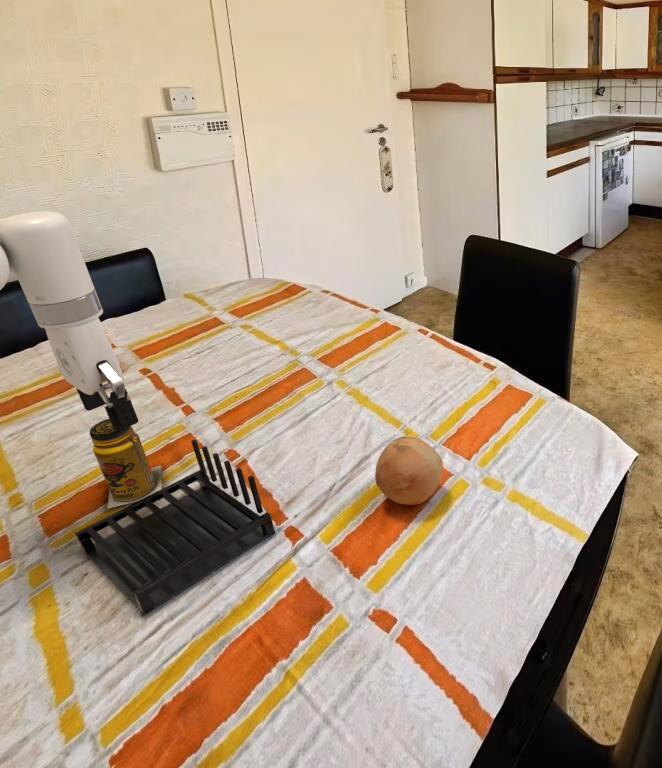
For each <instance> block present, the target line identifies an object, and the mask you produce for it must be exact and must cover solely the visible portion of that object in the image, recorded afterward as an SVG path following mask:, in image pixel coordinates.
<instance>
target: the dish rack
mask: <svg viewBox="0 0 662 768" xmlns="http://www.w3.org/2000/svg"><path fill="white" fill-rule="evenodd" d="M190 443H191V445H192V448H193V451H194V455H195V457H196V458H195V459H196V461H197V464H198V468H199V470H197V471H194V472H193V473H191V474H189V475H187V476H185V477H183V478H181V479H179V480H177V481H175V482H173V483H171V484H169V485H167V486H165V487H162V489H161V490H159V491H157V492H155V493H153V494H151V495H149V496H147V497H145V498H143V499H141V500H139V501H136V502H133V503H130V505H129V504H128V505H127V506H125V507H124V508H122V509H119V510H117V511H115V512H113V513H112V514H110V515H108V516H105V517H104V518H102V519H100V520H98V521H95V522H94V523H92V524H90V525H88V526H86V527H84V528H82V529H80V530H78V531H76V532H75V533H74V535H75V537H76V539H77V541H78V543H79V545H80V548H81V550H82V552H83V553H84V554H85V555H86V556H87V558H89V559H90V560H91V561H92V563H94V564H95V565H96V566H97V568H99V569H100V570H101V572H102V573H104V575H105V576H106V577H107V578H108V579H109V580H110V581H111V582H112V583H113V584H114V585H116V586H115V587H117V588H118V589H119V590H120V591H121V592H122V593H123V594H124V596H126V597H127V598H128V599H129V600H130V602H132V603H133V604H134V605H135V607H137V609H138V610H139V611H141V613H142V614H143V615H144V616H146V615H148V614H149V613H151V612H152V611H154V610H156V609H157V608H158V607H160V606H162V605H163V604H165V603H166V602H169V601H170V600H171V599H173V598H174V597H176V596H177V595H179V594H181V593H182V592H184V591H185V590H186V589H187V590H188V588H191V586H192V587H193V585H195V584H197V583H198V582H200V581H201V580H203V579H204V578H206V577H207V576H209V575H211V574H213V573H214V572H216V571H217V570H218V569H220V568H221V567H224V566H225V565H226V564H228V563H230V562H231V561H233V560H234V559H236V558H238V557H239V556H240V555H242V554H244V553H246V552H247V551H248V550H250V549H252V548H254V547H255V546H257V545H258V544H260V543H261V542H263V541H265V540H267V539H268V538H269V537H271V536H272V535H274V534H276V531H275V526H274V522H273V520H272V516H271V513H269V511H266V512H264V508H263V505H262V501H261V498H260V494H259V491H258V487H257V483H256V478H255V476H253V475H249V476H248V477H247V480H248V484H249V488H250V491H251V495H252V498H253V502H254V506H255V509H256V512H257V513H256V512H255V511H254V510H252V509H251V508H249V507H248V506H249V505H251V504H252V501H251V498H250V495H249V491H248V486H247V484H246V480H245V477H244V473H243V469H242V468H241V467H237V468H235V473H236V476H237V480H238V484H239V486H240V491H241V493H242V497H243V500H244V501H243V502H244V503H242V502H240V501H239V500H238V499H237V497H239V496H240V493H239V489H238V486H237V481H236V478H235V475H234V472H233V469H232V464H231V462H230V460H229V459H227V460H224V461H223V464H224V467H225V468H224V469H225V471H226V473H227V477H228V481H229V485H230V488H231V491H232V494H233V496H232V495H230V494H229V493H227V492H226V491H225V490H227V489H228V488H229V485H228V482H227V479H226V475H225V473H224V469H223V466H222V462H221V458H220V456H219V454H218V453H217V452H214V453H213V454H212V457H211V455H210V451H209V449H208V446H207V445H204V446H201V449H200V447H199V444H198V441H197V439H192V440H190ZM201 451H202V453H201ZM202 454H203V456H202ZM203 457H204V459H203ZM212 458H213V462H214V464H215V467H216V471H215V468H214V465H213V462H212ZM204 461H205V463H206V465H205V463H204ZM206 466H207V468H206ZM207 470H208V472H207ZM216 472H217V474H216ZM207 473H209V475H208V474H207ZM217 475H218V477H219V481H220V485H221V487H222V488H220V487H219V486H217V485H216V484H214V483H215V482H217V481H218V477H217ZM210 479H211V480H210ZM211 481H212V482H211ZM195 482H196V483H198V484H199V488H197V489H193V488H192V487H191V486H189V485H191V484H193V483H195ZM179 490H180V491H182V492H183V493H184V494H185V495H184V496H182V497H180V498H179V499H178V498H177V497H175V496H174V495H173V494H174V493H175V492H177V491H179ZM234 497H235V498H234ZM161 499H164V500H165V501H167V502H168V504H166V505H165V506H163V507H159V506H158V505H157V504H155V503H156V502H158V501H160V500H161ZM145 508H146V509H148V510H149V511H150V512H151V513H150V514H148V515H146V516H144V517H142V516H141V515H139V513H137V512H139V511H141V510H143V509H145ZM263 512H264V513H263ZM260 514H261V515H260ZM125 518H129V519H130V520H131V521H132V522H133V523H131V524H129V525H127V526H125V527H123V526H122V525H120V523H118V522H119V521H121V520H123V519H125ZM107 527H109V528H110V529H111V530H112V531H114V532H113V533H112V534H110V535H108V536H106V537H103V536H102V535H100V533H98V532H100V531H102V530H104V529H105V528H107Z"/></svg>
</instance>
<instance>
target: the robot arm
mask: <svg viewBox="0 0 662 768" xmlns="http://www.w3.org/2000/svg"><path fill="white" fill-rule="evenodd" d="M10 273H13V274H15V276H16V278H17V280H18V282H19V284H20V286H21V289H22V292H23V293H24V296H25V298H26V300H27V302H28V305H29V307H30V309H31V312H32V314H33V317H34V318H35V320H36V323H37V325H38V327H40V329H44V330H45V333H46V337H47V340H48V342H49V345H50V347H51V350H52V353H53V356H54V358H55V361H56V363H57V366H58V369H59V371H60V374H61V376H62V377H63V379H64V380H65V381H66V382H67V383H69V384H70V385H71V386H73V387H74V388H75V389H76V391H77V394H78V396H79V399H80V400H81V403H82V405H83V408H84V410H85V411H88V412H89V411H93V410H96V409H98V408H100V407H102V406H104V410H105V412H106V414H107V416H108V419H110V422H111V424H112V426H113V429H114V430H115V431H120V430H123V429H125V428H127V427H129V426H131V427H133V426H134V425H136V424H138V423H139V417H138V416H137V413H136V411H135V407H134V406H133V403H132V400H131V397H130V394H129V391H127V388H126V386H125V382H124V379H125V378H124V374H123V371H122V368H121V365H120V362H119V360H118V357H117V356H116V352H115V351H114V348H113V346H112V344H111V341H110V339H109V337H108V335H107V332H106V330H105V328H104V326H103V324H102V322H101V320H100V318H99V317H101V316H102V315H103V313H104V309H103V307H102V304H101V301H100V299H99V296H98V294H97V291H96V289H95V286H94V283H93V281H92V277H91V275H90V273H89V269H88V268H87V265H86V262H85V260H84V257H83V254H82V252H81V249H80V246H79V244H78V241H77V239H76V235H75V234H74V230H73V228H72V226H71V223H70V221H69V220H68V219H67V217H66V216H65V215H63V214H62V213H60V212H57V211H52V210H51V211H50V210H41V211H39V210H38V211H31V212H24V213H19V214H15V215H11V216H8V217H4V218H0V291H1V290H2V289H3V288H4V287H5V286H6V284H7V283H8V280H9V277H10ZM106 382H107V383H106ZM103 383H104V384H103ZM109 390H111V391H110V392H109V395H108V393H107V392H106V391H109ZM105 405H106V406H105Z"/></svg>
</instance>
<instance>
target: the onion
mask: <svg viewBox="0 0 662 768" xmlns="http://www.w3.org/2000/svg"><path fill="white" fill-rule="evenodd" d="M443 470H444V464H443V460H442V456H441V455H440V454H439V452H437V451H436V449H434V448H433V447H432V445H430V444H429V443H428V442H427V441H424V440H422V439H420V438H418V437H413V436H400V437H397V438H395V439H392V441H390V442H389V443H388V444H387V445H386V446H385V447H384V449H383V450H382V451H381V452H380V455H379V457H378V460H377V462H376V465H375V476H374V480H375V484H376V486H377V488H378V489H379V491H381V493H382V494H383V495H384V496H386V498H387V499H389V500H391V501H392V502H394V503H396V504H400V505H406V506H415V505H416V506H417V505H420V504H422V503H424V502H426V501H427V500H428V499H429V498H430V497H431V496H433V495H434V493H435V491H436V490H437V488H438V487H439V484H440V483H441V481H442V477H443Z"/></svg>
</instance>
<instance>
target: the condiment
mask: <svg viewBox="0 0 662 768" xmlns="http://www.w3.org/2000/svg"><path fill="white" fill-rule="evenodd" d="M89 436H90V438H91V443H92V444H93V446H92V451H93V452H92V453H93V455H94V456H95V459H96V461H97V463H98V465H99V468H100V470H101V473H102V475H103V478H104V480H105V482H106V486H107V487H108V489H109V491H108V493H109V494H108V501H107V510H108V509H113V508H116V507H119V506H125V505H129V504H133V503H135V502H137V501H139V500H141V499H143V498H145V497H147V496H149V495H151V494H153V493H155V492H157V491H159V490H161V489H163V481H162V464H159V465H157V466H153V467H151V465H150V463H149V460H148V457H147V455H146V452H145V450H144V447H143V444H142V441H141V439H140V436H139V434H138V433H137V432H135V430H134V428H133V426H129V427H127V428H125V429H123V430H120V431H115V430H114V429H113V426H112V424H111V422H110V419H109V418H106V419H104V420H103V419H102V420H101V421H99V422H96V423H95V424H93V426H92V427H90V430H89Z"/></svg>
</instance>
